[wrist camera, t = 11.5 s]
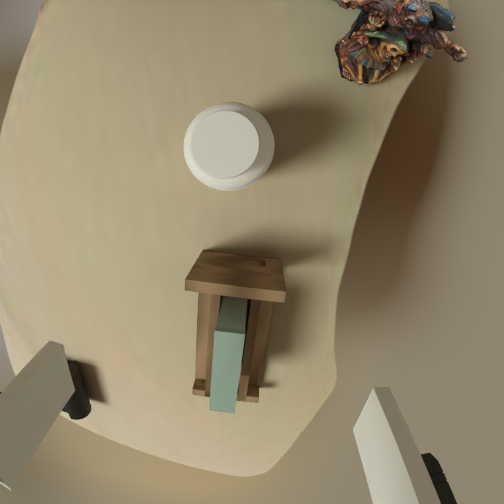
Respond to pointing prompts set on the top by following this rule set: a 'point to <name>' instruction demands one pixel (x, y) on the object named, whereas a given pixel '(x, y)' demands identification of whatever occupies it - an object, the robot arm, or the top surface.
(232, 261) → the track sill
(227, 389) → the door panel
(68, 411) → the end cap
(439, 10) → the figurine
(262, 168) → the pill bottle
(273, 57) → the top surface
